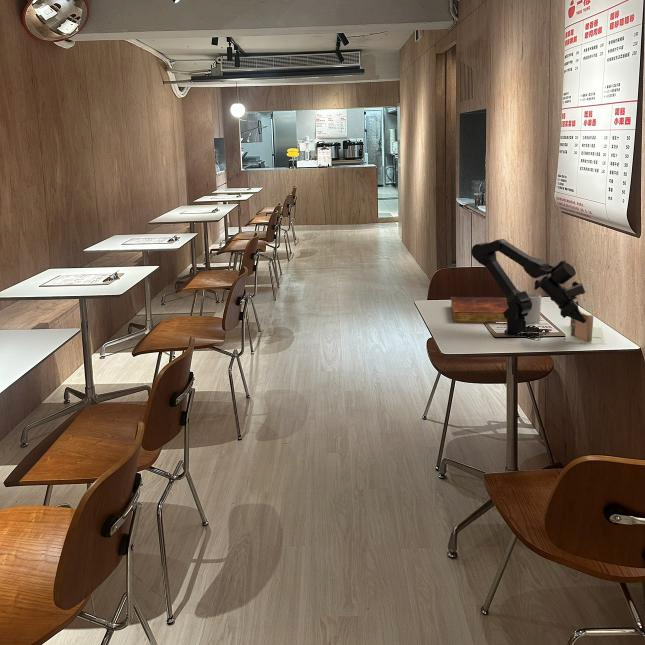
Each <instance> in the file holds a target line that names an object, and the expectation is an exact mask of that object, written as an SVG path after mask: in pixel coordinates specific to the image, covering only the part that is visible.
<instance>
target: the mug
mask: <svg viewBox="0 0 645 645" xmlns="http://www.w3.org/2000/svg"><path fill="white" fill-rule="evenodd" d="M526 293H527V295H528V296H529V298H531V300H530V301H531V302H532V309H531V310H530V312H529V313H528V315H527V316H525V321H526V323H530V324H529V325H535V323H537V324H540V323H541V310H542V309H541V305H542V295H541V294H539V293H532V292H530V293H529V292H526ZM539 322H540V323H539Z"/></svg>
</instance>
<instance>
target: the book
mask: <svg viewBox="0 0 645 645" xmlns="http://www.w3.org/2000/svg"><path fill="white" fill-rule="evenodd" d="M450 302H451V303H450V306H451V307H450V308H451V312H452V313H451V314H452V315H453V320H454V323H455V324H497V323H496V322H507V318H504V314H503V312H504V311H506V310H507V309H508V308H509V307H508V305H507V298H506V297H494V296H493V297H487V296H486V297H484V296H483V297H480V296H478V297H477V296H476V297H475V296H474V297H473V296H468V297H467V296H450Z"/></svg>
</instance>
